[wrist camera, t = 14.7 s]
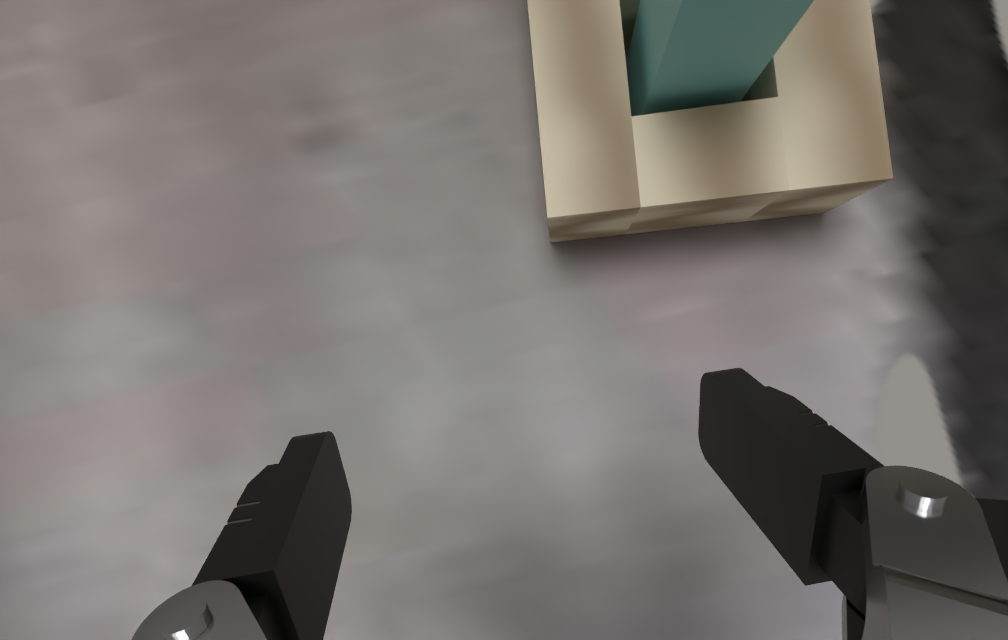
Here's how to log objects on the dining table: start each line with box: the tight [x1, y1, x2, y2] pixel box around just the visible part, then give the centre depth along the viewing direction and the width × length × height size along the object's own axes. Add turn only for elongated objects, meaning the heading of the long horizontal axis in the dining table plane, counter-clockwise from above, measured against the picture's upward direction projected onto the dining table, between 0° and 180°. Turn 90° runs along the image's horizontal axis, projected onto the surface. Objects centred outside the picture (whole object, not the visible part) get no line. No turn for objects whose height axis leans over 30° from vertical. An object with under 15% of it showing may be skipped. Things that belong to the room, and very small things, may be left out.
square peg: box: [626, 0, 814, 116], centre depth 18 cm, size 4×4×13 cm
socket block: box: [527, 0, 893, 243], centre depth 22 cm, size 13×13×5 cm
